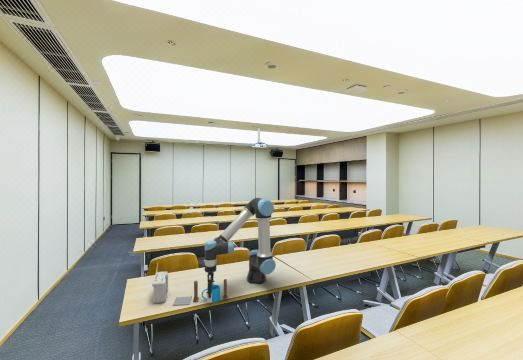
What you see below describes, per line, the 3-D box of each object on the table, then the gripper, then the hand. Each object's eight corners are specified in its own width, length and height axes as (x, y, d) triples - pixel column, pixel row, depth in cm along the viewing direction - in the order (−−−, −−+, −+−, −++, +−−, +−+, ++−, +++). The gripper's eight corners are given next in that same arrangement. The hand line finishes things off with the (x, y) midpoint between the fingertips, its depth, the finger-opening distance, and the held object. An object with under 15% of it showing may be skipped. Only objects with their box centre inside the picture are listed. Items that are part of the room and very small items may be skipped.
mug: (220, 296, 168) (219, 284, 168) (220, 302, 160) (219, 289, 160) (201, 297, 166) (201, 285, 166) (200, 303, 158) (200, 291, 158)
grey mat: (191, 297, 166) (191, 296, 166) (189, 304, 156) (189, 304, 156) (176, 298, 165) (176, 297, 165) (172, 305, 155) (172, 305, 155)
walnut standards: (227, 297, 166) (227, 278, 166) (227, 300, 162) (227, 280, 162) (194, 299, 164) (193, 280, 163) (193, 302, 160) (193, 282, 159)
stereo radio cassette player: (165, 303, 159) (165, 272, 158) (151, 304, 156) (151, 273, 156) (168, 288, 179) (168, 261, 178) (156, 290, 176) (155, 262, 176)
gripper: (206, 258, 174) (206, 288, 175) (202, 272, 150) (202, 307, 150) (217, 258, 175) (217, 288, 176) (215, 272, 151) (215, 306, 151)
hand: (210, 297), depth 163 cm, fingers open, 13 cm apart
